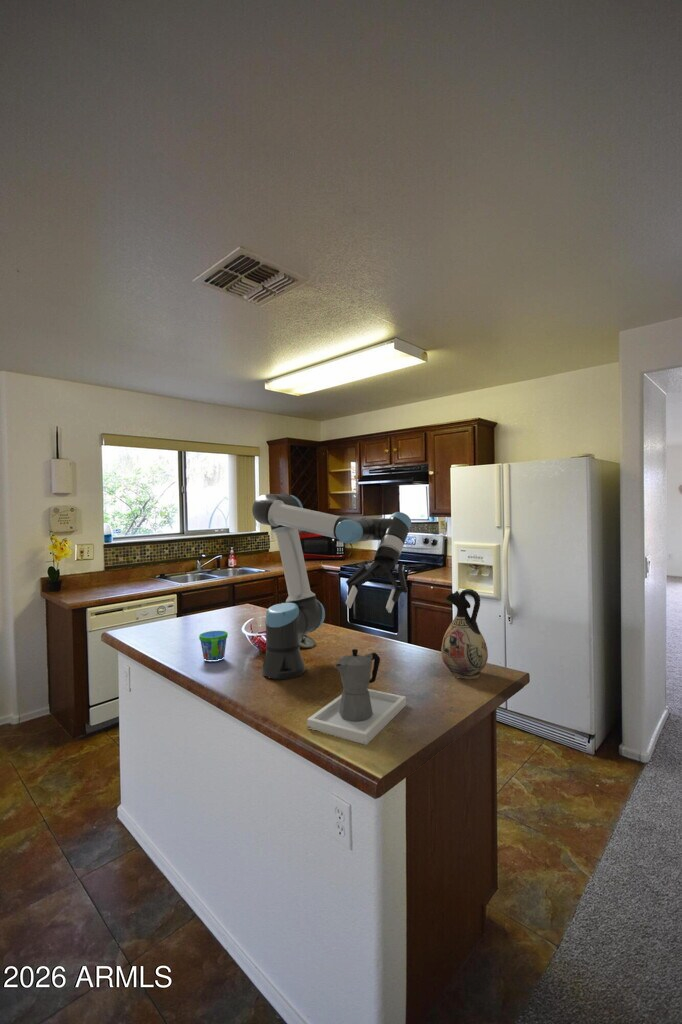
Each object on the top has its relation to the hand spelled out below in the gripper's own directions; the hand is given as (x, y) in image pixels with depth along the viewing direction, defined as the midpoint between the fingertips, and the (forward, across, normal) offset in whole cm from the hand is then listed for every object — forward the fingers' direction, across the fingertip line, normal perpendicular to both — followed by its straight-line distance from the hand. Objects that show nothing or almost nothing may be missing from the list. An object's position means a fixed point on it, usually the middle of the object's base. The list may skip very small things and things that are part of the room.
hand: (367, 608), depth 136 cm
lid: (-5, +50, -46) cm, 68 cm away
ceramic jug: (-4, -19, -44) cm, 49 cm away
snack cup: (+17, +70, -23) cm, 76 cm away
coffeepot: (+26, -2, -12) cm, 29 cm away
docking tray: (+27, -2, -13) cm, 30 cm away
